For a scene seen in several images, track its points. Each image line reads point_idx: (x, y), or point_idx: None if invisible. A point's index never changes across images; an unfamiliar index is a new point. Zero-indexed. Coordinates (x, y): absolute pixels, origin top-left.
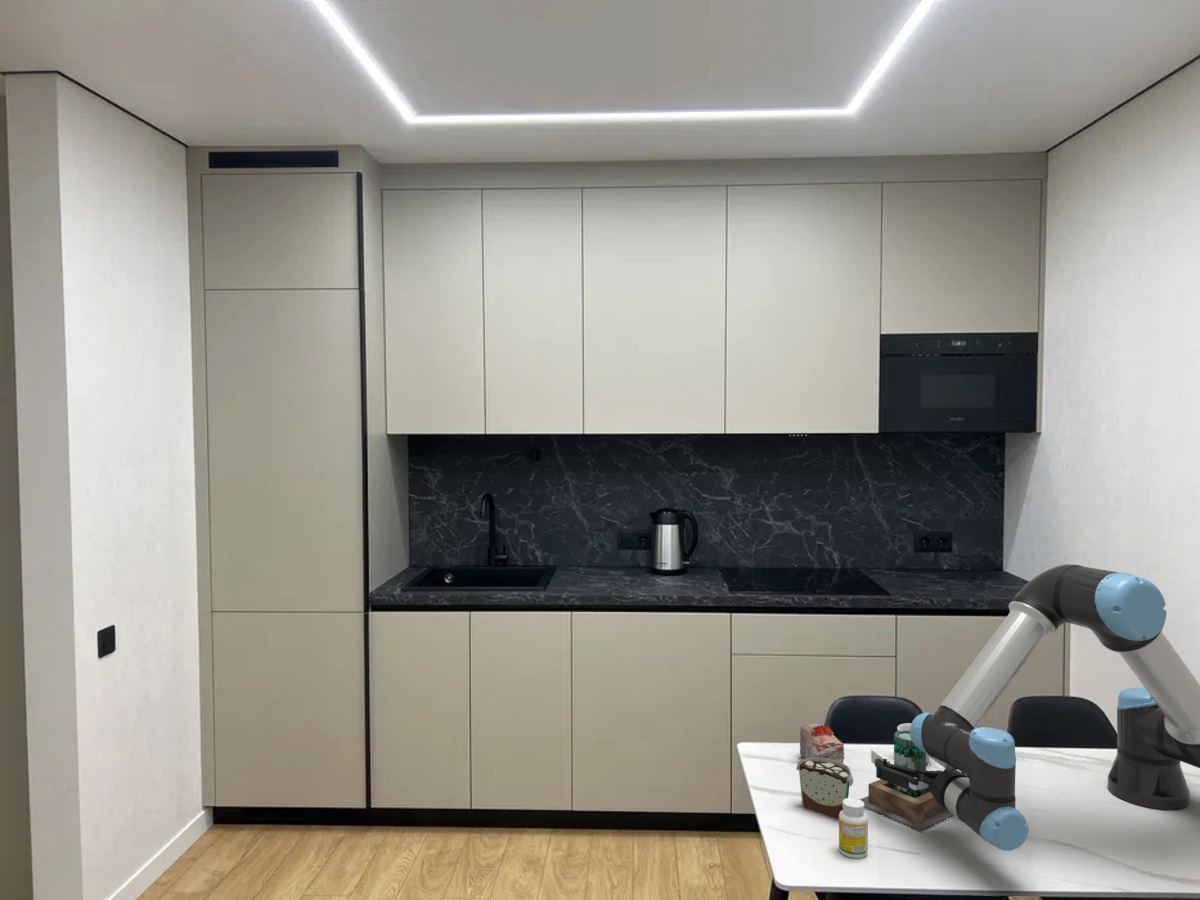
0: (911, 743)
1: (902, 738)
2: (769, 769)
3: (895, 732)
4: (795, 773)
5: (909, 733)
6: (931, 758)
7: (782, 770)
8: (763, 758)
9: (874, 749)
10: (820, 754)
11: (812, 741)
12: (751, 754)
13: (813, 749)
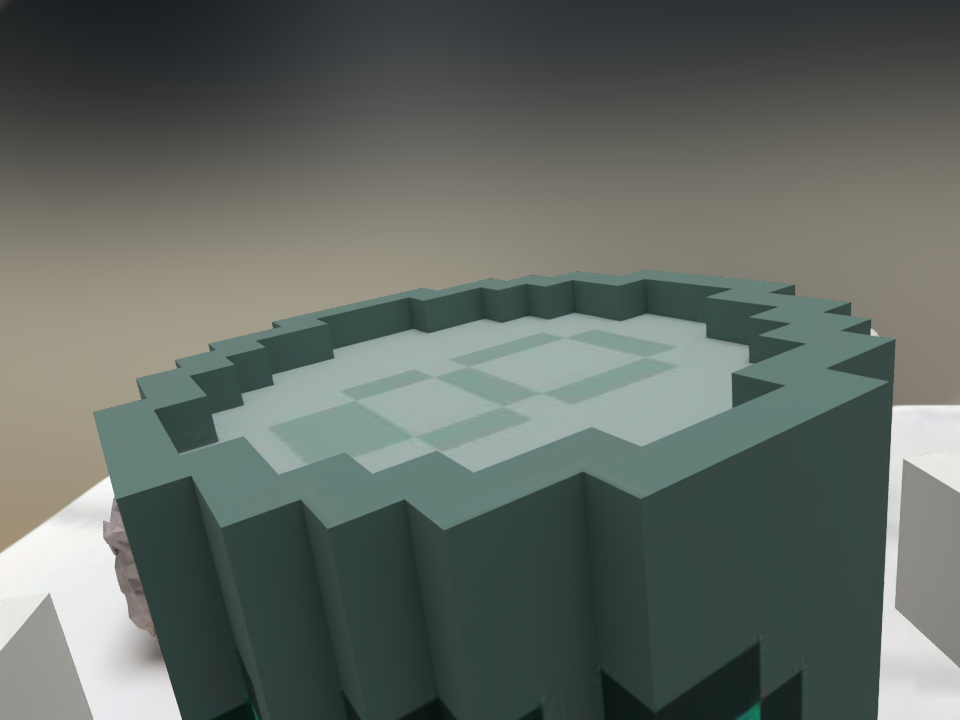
0: (321, 599)
1: (160, 430)
2: (10, 593)
3: (293, 318)
4: (89, 620)
5: (559, 316)
6: (935, 644)
7: (59, 598)
8: (93, 521)
9: (38, 600)
10: (116, 536)
11: None
12: (80, 502)
13: (115, 501)
